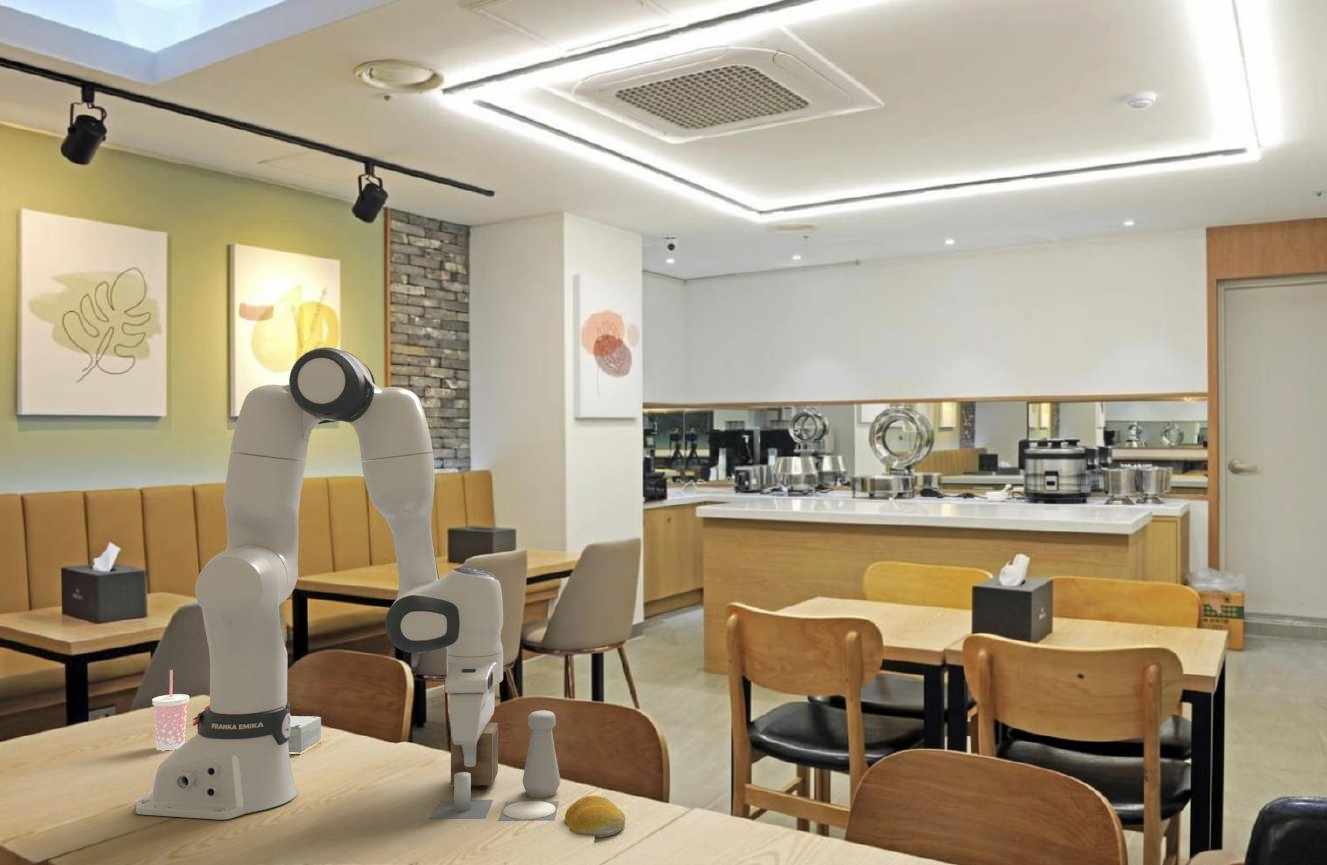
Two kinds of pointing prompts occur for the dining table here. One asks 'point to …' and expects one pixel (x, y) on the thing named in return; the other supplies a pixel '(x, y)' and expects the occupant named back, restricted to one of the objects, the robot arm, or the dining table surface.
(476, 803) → the board
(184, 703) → the beverage cup
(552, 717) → the salt shaker
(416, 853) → the dining table surface
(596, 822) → the bread roll
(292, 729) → the small box
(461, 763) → the brown wooden block
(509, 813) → the board
